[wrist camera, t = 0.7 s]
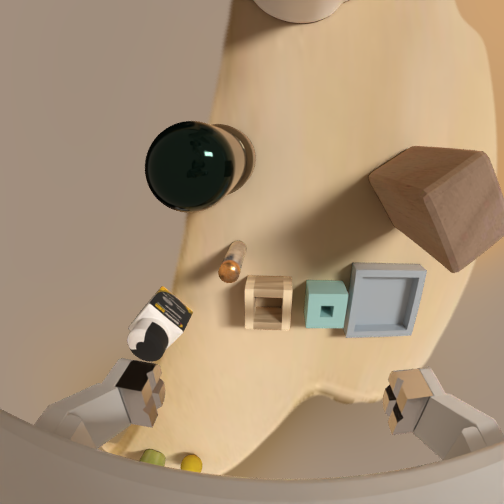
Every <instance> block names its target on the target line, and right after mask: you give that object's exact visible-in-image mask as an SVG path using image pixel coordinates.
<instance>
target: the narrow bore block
mask: <svg viewBox="0 0 504 504" xmlns="http://www.w3.org/2000/svg"><path fill="white" fill-rule="evenodd" d="M348 295H349V294H348V292H347V290H346V287H345V285H344V283H343V281H333V280H307V281H306V293H305V305H304V317H305V325H306V328H343V327H344V321H345V315H346V308H347V301H348Z"/></svg>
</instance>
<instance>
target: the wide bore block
mask: <svg viewBox="0 0 504 504" xmlns="http://www.w3.org/2000/svg"><path fill="white" fill-rule="evenodd" d="M256 297H269V298H282V307H256ZM291 306H292V279H291V277H285V276H253V275H248V277H247V281H246V285H245V329H264V330H290V320H291Z"/></svg>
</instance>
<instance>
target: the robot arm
mask: <svg viewBox="0 0 504 504" xmlns="http://www.w3.org/2000/svg"><path fill="white" fill-rule="evenodd" d="M253 1H254V2H255V3H256V4H257V5H258V6H259V7H260V8H261V9H262V10H263V11H265V12H266V13H268V14H269V15H271V16H273V17H275V18H278V19H280V20H284V21H288V22H294V23H309V22H315V21H319V20H322V19H324V18H326V17H328V16H330V15H331V14H332V13H334V12H335V11H336V10H337V8H338V7H339V6H340V5H341V4H342V3H343V2H346V1H348V0H253ZM161 374H162V371H161V367H160V365H158V364H154V363H147V362H142V361H136V360H129V359H124V358H121V359H119V360H118V361H117V363H116V364H115V365H114V367H113V368H112V370H111V371H110V372H109V374H108V375H107V377H106V378H105V380H104V381H103V383H102V384H99V383H98V384H96V385H93V386H91V387H89V388H87V389H85V390H82V391H80V392H78V393H76V394H73V395H71V396H69V397H67V398H64V399H62V400H60V401H58V402H55V403H53V404H51V405H49V406H48V407H47V408H46V410H45V411H44V412H43V414H42V415H41V416H40V417H39V419H38V420H37V422H36V423H35V424H34V425H33V424H30V423H28V422H26V421H24V420H22V419H19V418H17V417H16V416H14V415H12V414H10V413H8V412H6V411H4V410H2V409H0V504H504V434H503V433H502V431H501V429H500V428H499V426H498V424H497V423H496V421H495V419H493V418H491V417H490V416H488V415H486V414H484V413H483V412H481V411H479V410H477V409H476V408H474V407H472V406H470V405H469V404H467V403H465V402H463V401H462V400H459V399H458V398H456V397H454V396H453V395H451V394H446V393H445V391H444V389H443V388H442V386H441V384H440V383H439V381H438V379H437V377H436V376H435V374H434V372H433V371H432V369H431V368H430V367H423V368H417V369H409V370H399V371H392V372H391V373H390V376H389V379H388V381H389V383H390V385H389V386H388V387H387V388H386V389H385V391H384V395H383V409H384V412H385V414H387V415H388V416H390V418H389V420H388V424H389V427H390V430H391V433H392V435H395V434H404V433H411V432H413V434H414V435H415V436H416V437H418V438H419V439H420V440H421V441H422V442H423V443H424V444H425V445H427V446H428V447H429V448H430V449H431V450H432V451H433V452H434V453H436V454H437V455H438V456H439V457H440V458H441V459H442V461H438V462H434V463H430V464H425V465H421V466H416V467H411V468H406V469H400V470H395V471H388V472H382V473H375V474H368V475H358V476H348V477H336V478H320V479H264V478H246V477H234V476H223V475H214V474H206V473H199V472H192V471H186V470H180V469H175V468H169V467H164V466H159V465H155V464H150V463H146V462H141V461H137V460H133V459H129V458H126V457H122V456H118V455H115V454H111V453H108V452H105V451H101V450H98V449H97V448H99V447H100V446H102V445H103V444H105V443H106V442H108V441H109V440H110V439H112V438H113V437H115V436H116V435H117V434H119V433H120V432H122V431H123V430H124V429H126V428H127V427H128V426H130V425H131V424H136V425H141V426H147V427H153V425H154V423H155V421H156V418H157V416H158V413H157V409H158V408H160V407H161V406H162V404H163V402H164V398H165V385H164V382H163V381H162V380H161V379H160V376H161ZM130 423H131V424H130Z"/></svg>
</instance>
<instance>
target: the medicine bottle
mask: <svg viewBox="0 0 504 504" xmlns="http://www.w3.org/2000/svg"><path fill="white" fill-rule="evenodd" d="M192 313H193V311H192V310H191V309H190V308H189V307H187V306H186V305H185V304H184V303H183V302H181V301H180V300H179V299H178V298H177V297H176V296H174V295H173V294H172V293H171V292H170V291H169V290H167V289H166V288H165V287H164V286H162V287H161V288H160V289H159V290H158V291H157V292H156V294H155V295H154V296H153V297H152V298H151V299H150V301H149V302H148V303H147V304H146V306H145V307H144V308H143V309H142V310H141V312H140V313H139V314H138V315H137V317H136V318H135V320H134V321H133V322H132V323H131V325H130V326H129V328H128V329H129V330H130V331H131V332H130V333H129V335H128V338H127V342H128V346H129V348H130V350H131V351H132V353H133V354H134V355H135V356H137V357H138V358H140V359H142V360H145V361H157V360H159V359H160V358H161V357H162V356H163V354H164V352H165V350H166V349H167V348H168V347H169V346H170V345H171V344H172V343H173V342H174V341H175V340H176V339H177V338H178V337H179V336H180V335H181V334H182V333H183V332H184V330H185V328H186V326H187V323H188V321H189V319H190V317H191V315H192Z"/></svg>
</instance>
